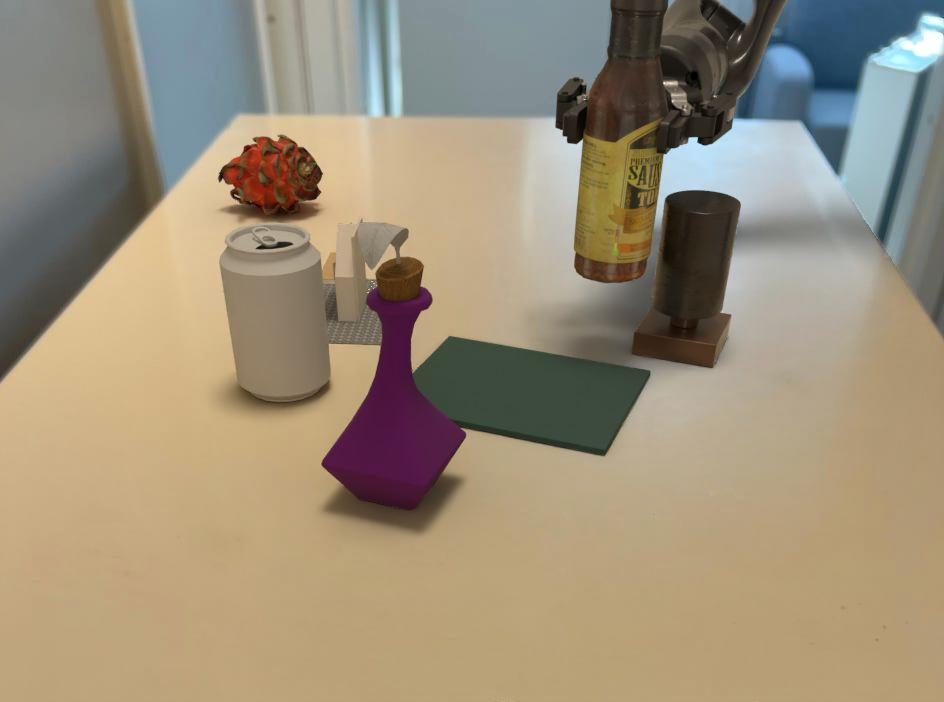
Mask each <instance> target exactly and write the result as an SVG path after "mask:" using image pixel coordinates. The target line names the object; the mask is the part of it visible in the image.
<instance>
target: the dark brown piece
mask: <svg viewBox="0 0 944 702" xmlns="http://www.w3.org/2000/svg"><path fill="white" fill-rule="evenodd" d="M741 208H742V203H741V201H740V200H739V199H738V198H737V197H734V196H733V195H730V194H728V193H727V194H726V193H723V192H720V191H713V190H702V189H689V190H688V189H687V190H679V191H675V192H672V193H670V194H668V195H667V196H665V198H664V202H663V210H662V218H661V226H660V232H659V241H658V248H657V255H656V261H655V262H656V263H655V270H654V279H653V285H652V292H651V293H652V294H651V299H650V300H651V301H650V303H651V306H650V307H649V309H648V310H647V312H646V313H645V315H644V316H643V318H642V320H641V322H640V323H639V324H638V325H637V327H636V329H635V330H634V332H633V340H632V348H631V354H632V355H636V356H643V357H648V358H654V359H660V360H666V361H671V362H672V361H673V362H678V363H684V364H690V365H697V366H702V367H708V368H713V367H715V363H716V361H717V360H718V357H719V355H720V353H721V350H722V349H723V346H724V344H725V342H726V340H727V338H728V336H729V332H730V331H729V330H730V326H731V320H732V313H725V312H722V311H723V308H724V304H725V303H724V302H725V296H726V291H727V285H728V280H729V274H730V269H731V264H732V258H733V252H734V247H735V242H736V235H737V230H738V226H739V225H738V224H739V220H740V219H739V218H740V214H741Z"/></svg>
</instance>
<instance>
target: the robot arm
mask: <svg viewBox="0 0 944 702" xmlns="http://www.w3.org/2000/svg"><path fill="white" fill-rule="evenodd" d="M787 2H788V0H751V3H752V10H751V11H752V13H751V16H750V18H749V20H748V22H747V21H744V20H743V19H742V18H740V17H739V16H738V15H737V14H735V13H734V12H732V11H731V10H730V9H729V8H728V7H726V5H724V4H721V2H720V1H719V0H674V1H672V3H671V4H670V5H669V6H668V9H667V11H666V13H665V15H664V20H663V30H662V37H661V45H660V49H661V55H660V63H661V69H662V75H663V81H664V87H665V93H666V99H667V105H668V110H669V113H668V114H667V115H666V116H665V117H664V118H663V119H662V120H661V122H660V126H659V132H658V141H657V149H656V152H657V153H658V154H664V155H668V153H669V152H670V151H671V150H672V149H673V150H674V149H678V148H679V147H680V146H683V145H687V144H689V140H690V138H697V141H696V143H697V144H699V145H701V146H710V145H713V144H714V143H716V142H717V141H719V140H720V139H721V138H722V137H724V136H725V135H726V134H727V133H728V132H729V131H731V130H732V128H733V124H734V118H735V112H736V105H737V100H738V99H739V98H740V97H741V96H743V95H744V94H745V92H746V91H747V90H748V89H749V87H750V86H751V84H752V83H753V81H754V79H755V76H756V74H757V72H758V70H759V67H760V65H761V62H762V60H763V57H764V54H765V52H766V49H767V47H768V44H769V41H770V38H771V36H772V34H773V32H774V29H775V27H776V24H777V22H778V20H779V18H780V15H781V14H782V12H783V9H784V8H785V6H786V4H787ZM587 85H588V84H587V83H586V82H584V78H580V77H578V76H574V77H572V78H569V79H568V80H567V81H566V82H565V84H563V86H562V87H561V88H560V89H559V90H558V92H557V93H556V106H555V107H556V108H555V124H554V127H555V129H557V130H559V131H562V132H561V133H562V134H561V135H562V137H564V138H565V137H566V143H567V144H568V145H569V144H571V145H578V144H579V143H580V142H582V141H583V133H584V129H585V127H586V116H587V103H588V102H587V101H588V97H589V93H590V89H587V87H588V86H587Z"/></svg>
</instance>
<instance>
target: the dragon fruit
mask: <svg viewBox="0 0 944 702" xmlns="http://www.w3.org/2000/svg"><path fill="white" fill-rule="evenodd" d="M277 137H278V139H277V140H274V139H273V138H271V137H270V136H263V135H262V136H254V137H252V141H253V142H254V143H252V144H245V145H244V146H243V149H242V152H241V153H240V155H239V156H236V157H234V158H231V160H230V161H229V162H228V163H226V164H224V165H223V166H222V167H221V169H220V171H219V172H218V177H217V181H218V183H221V182H222V181H224V184H226V185H228V186H229V185H230V186H231V185H232V186H233V187H234V188H233V189H231V190H230V191H229V195H230V197H231V199H233V200H234V201H235V202H238V203H239V204H240V205H245V206H252V207H253V206H254V207H256V208H257V209H258V210H261V211H263V213H264V214H265V215H266V216H267V217H270V216H272V215H273V214H275V213H277V212H278V211H279V208H282V209H283V210H284V211H285V212H286V213H289V214H290V213H296V212H299V211H300V209H301V206H300V202H301V203H304V202H309V201H315V200H317V199H318V197H319V196H320V195H321V194H322V191H321V190H320V188H319V185H318V184H319V183H320V182H321V181H322V178H323V175H324V173H323V171H322V169H321V167H320V166H319V165H318V162H317V160H316V159H315V158H314V156H313V155H312V154H311V153H310V152H309V151H308V150H307V148H306V147H304V146H299V145H298V143H297V142H296V141H294V139H292V138H290V137H288V136H287V135H285V134H277Z"/></svg>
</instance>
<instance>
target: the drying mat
mask: <svg viewBox="0 0 944 702" xmlns="http://www.w3.org/2000/svg"><path fill="white" fill-rule="evenodd" d="M651 372H652V371H651V370H650V369H644V368H637V367H632V366H626V365H621V364H614V363H609V362H604V361H603V362H602V361H599V360H592V359H586V358H580V357H574V356H570V355H569V356H568V355H563V354H557V353H553V352H552V353H551V352H546V351H539V350H534V349H529V348H522V347H516V346H511V345H505V344H499V343H493V342H487V341H484V340H483V341H482V340H476V339H471V338H465V337H459V336H453V335H449V336H448V337H446V338H445V340H444V341H443V342H442V343H441V344H440V345H439V346H438V347H437V348H436V349H435V350H434V351H433V352H432V353H431V354H430V355H429V356H428V357H427V358H426V359H425V360H424V361H423V362H422V363H421V364H420V365H419V366H418V367H417V368H416V369H415V370H414V371H412V374H413V378H414V381H415V384H416V386H417V389H418V390H419V391H420V392H421V393H422V394H423V395H424V396H425V397H426V398H427V399H428V400H429V401H430V402H431V403H432V404H433V405H434V406H435V407H436V408H437V409H438V410H440V411H441V412H442V413H443V414H444V415H446V416H447V417H448V418H449V419H450V420H452V421H453V422H454V423H455V424H456V425H458V426H459V427H460V428H466V429H472V430H476V431H480V432H486V433H491V434H495V435H501V436H506V437H510V438H516V439H521V440H526V441H530V442H531V441H532V442H536V443H540V444H546V445H551V446H554V447H555V446H556V447H560V448H561V447H562V448H566V449H570V450H571V449H572V450H577V451H581V452H585V453H590V454H597V455H601V456H605V455H606V454H607V452H608V450H609V448H610V446H611V445H612V444H613V442H614V440H615V438H616V436H617V435H618V432H619V431H620V430H621V427H622V426H623V424H624V422H625V421H626V419H627V417H628V415H629V414H630V412H631V410H632V408H633V406H634V405H635V403H636V401H637V399H638V398H639V396H640V394H641V392H642V390H644V387H645V385H646V384H647V382H648V380H649V378H650V377H651Z"/></svg>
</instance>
